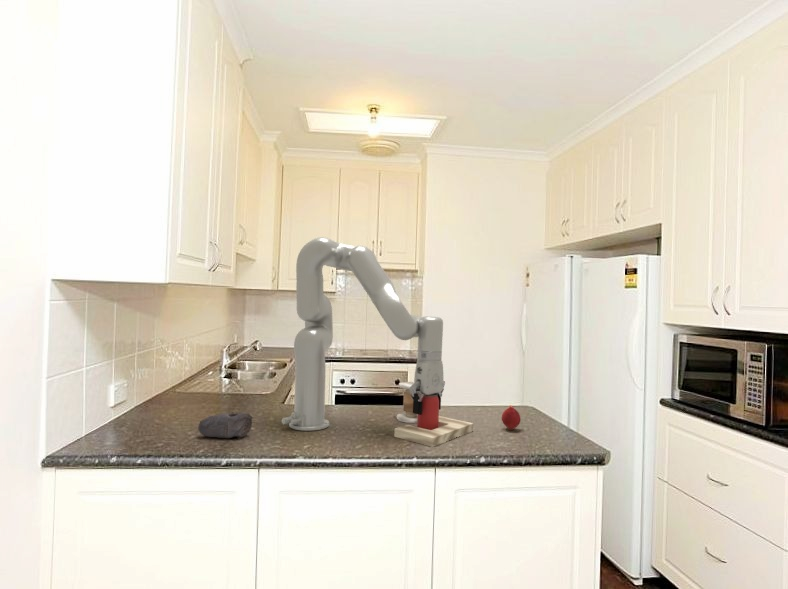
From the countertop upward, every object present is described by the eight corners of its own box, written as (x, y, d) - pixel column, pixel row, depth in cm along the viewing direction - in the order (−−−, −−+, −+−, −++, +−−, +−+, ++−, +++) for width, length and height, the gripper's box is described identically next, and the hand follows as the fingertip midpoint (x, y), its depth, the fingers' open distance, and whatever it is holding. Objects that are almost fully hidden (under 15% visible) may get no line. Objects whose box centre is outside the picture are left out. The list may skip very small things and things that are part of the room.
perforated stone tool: (194, 439, 137) (195, 415, 137) (201, 434, 142) (202, 410, 142) (247, 440, 137) (248, 416, 137) (252, 435, 142) (253, 411, 142)
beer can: (438, 430, 152) (439, 392, 153) (438, 436, 146) (439, 396, 146) (417, 429, 153) (418, 391, 153) (416, 434, 147) (417, 395, 147)
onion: (521, 429, 156) (522, 404, 156) (518, 433, 151) (518, 408, 151) (503, 426, 158) (504, 402, 158) (499, 430, 153) (500, 405, 153)
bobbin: (414, 424, 158) (415, 388, 158) (390, 419, 165) (391, 383, 165) (431, 419, 166) (432, 384, 166) (408, 414, 172) (409, 380, 172)
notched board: (432, 447, 135) (433, 438, 135) (394, 436, 144) (394, 428, 144) (473, 431, 152) (473, 423, 152) (436, 422, 161) (436, 415, 161)
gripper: (422, 359, 141) (419, 418, 141) (454, 355, 154) (452, 409, 154) (402, 356, 145) (399, 413, 145) (435, 353, 159) (432, 405, 159)
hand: (426, 411), depth 150 cm, fingers open, 9 cm apart
